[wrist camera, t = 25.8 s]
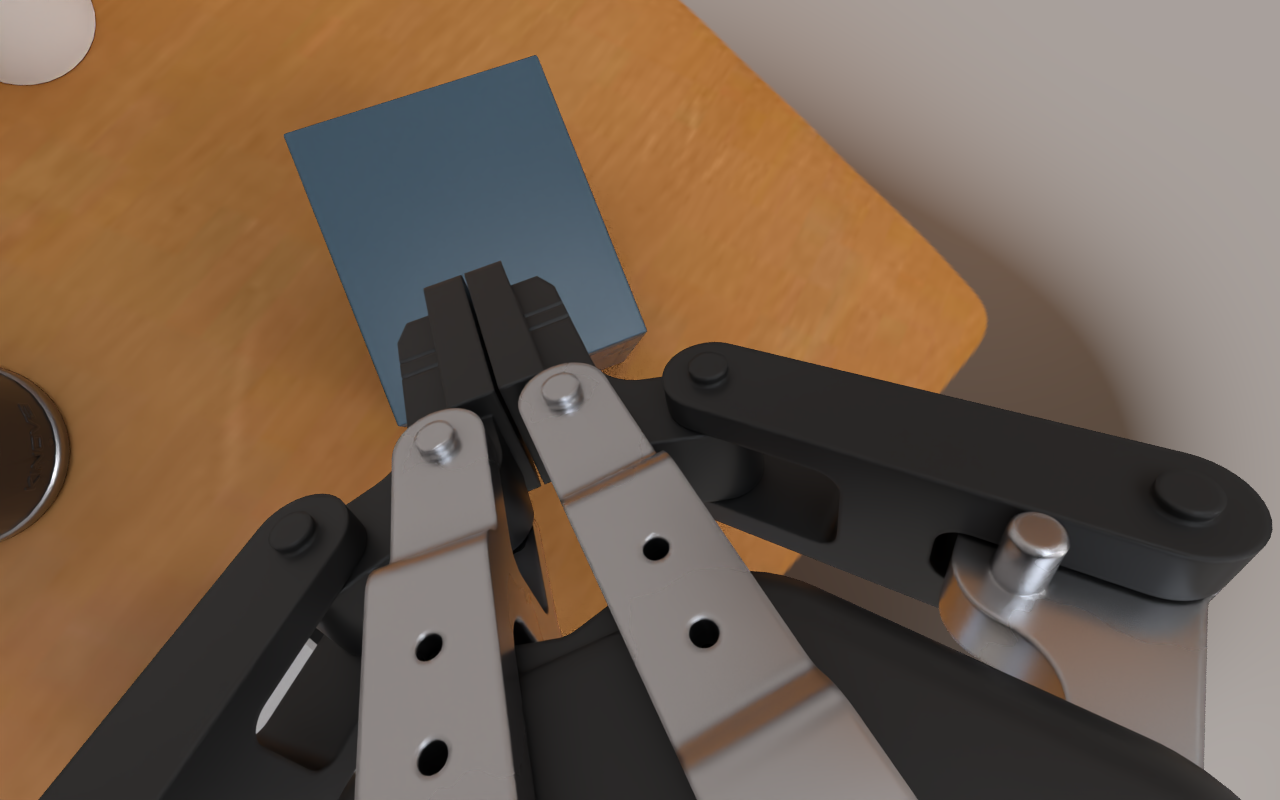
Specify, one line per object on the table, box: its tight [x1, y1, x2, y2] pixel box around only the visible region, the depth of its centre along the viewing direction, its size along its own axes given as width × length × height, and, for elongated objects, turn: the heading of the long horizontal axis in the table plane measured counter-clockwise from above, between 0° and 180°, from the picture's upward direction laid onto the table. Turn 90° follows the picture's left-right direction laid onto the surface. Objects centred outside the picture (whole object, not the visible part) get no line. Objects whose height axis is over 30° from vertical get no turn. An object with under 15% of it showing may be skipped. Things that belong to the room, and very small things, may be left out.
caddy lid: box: [284, 55, 647, 427], centre depth 25 cm, size 12×11×1 cm
